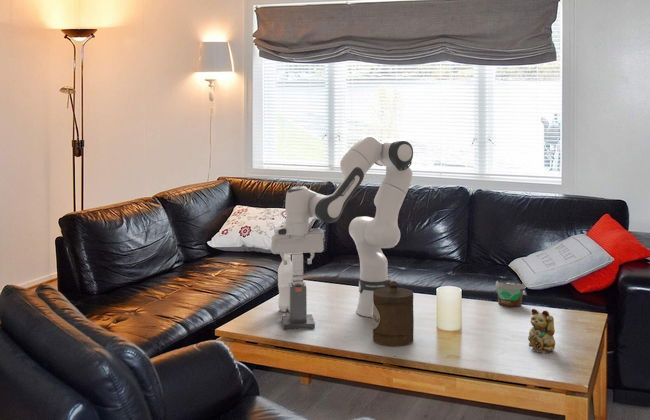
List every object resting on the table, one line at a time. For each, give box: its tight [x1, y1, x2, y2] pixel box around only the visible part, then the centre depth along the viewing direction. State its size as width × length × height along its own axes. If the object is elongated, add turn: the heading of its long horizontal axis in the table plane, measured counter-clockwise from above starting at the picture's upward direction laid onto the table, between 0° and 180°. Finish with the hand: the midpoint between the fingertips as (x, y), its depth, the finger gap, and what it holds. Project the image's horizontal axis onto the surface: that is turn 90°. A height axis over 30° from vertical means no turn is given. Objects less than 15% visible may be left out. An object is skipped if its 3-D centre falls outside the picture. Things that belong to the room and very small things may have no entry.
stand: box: [281, 281, 316, 331], centre depth 307 cm, size 12×12×17 cm
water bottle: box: [277, 253, 292, 313], centre depth 325 cm, size 7×7×25 cm
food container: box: [495, 280, 526, 309], centre depth 332 cm, size 12×6×10 cm, turn 68°
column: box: [291, 253, 304, 286], centre depth 306 cm, size 4×4×20 cm
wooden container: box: [372, 280, 415, 347], centre depth 288 cm, size 15×15×22 cm
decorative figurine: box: [527, 308, 556, 354], centre depth 278 cm, size 10×8×15 cm
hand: (297, 264), depth 305 cm, fingers open, 8 cm apart
